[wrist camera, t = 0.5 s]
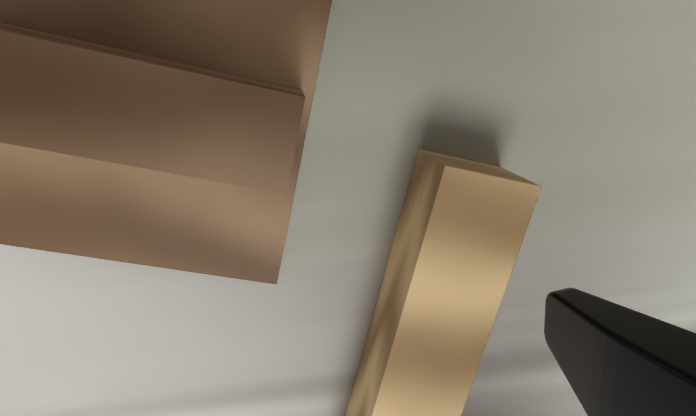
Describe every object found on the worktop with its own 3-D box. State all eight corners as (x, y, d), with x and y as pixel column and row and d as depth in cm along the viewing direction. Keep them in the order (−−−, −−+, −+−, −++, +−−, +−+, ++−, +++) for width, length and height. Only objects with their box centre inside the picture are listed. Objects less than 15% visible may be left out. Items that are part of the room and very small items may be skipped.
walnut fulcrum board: (276, 274, 22) (272, 349, 16) (-7, 232, 20) (-130, 300, 14) (340, -53, 18) (363, -108, 12) (-1, -148, 16) (-163, -267, 10)
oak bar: (408, 442, 26) (428, 507, 22) (338, 435, 25) (346, 501, 21) (497, 165, 22) (541, 186, 18) (417, 147, 21) (445, 165, 17)
